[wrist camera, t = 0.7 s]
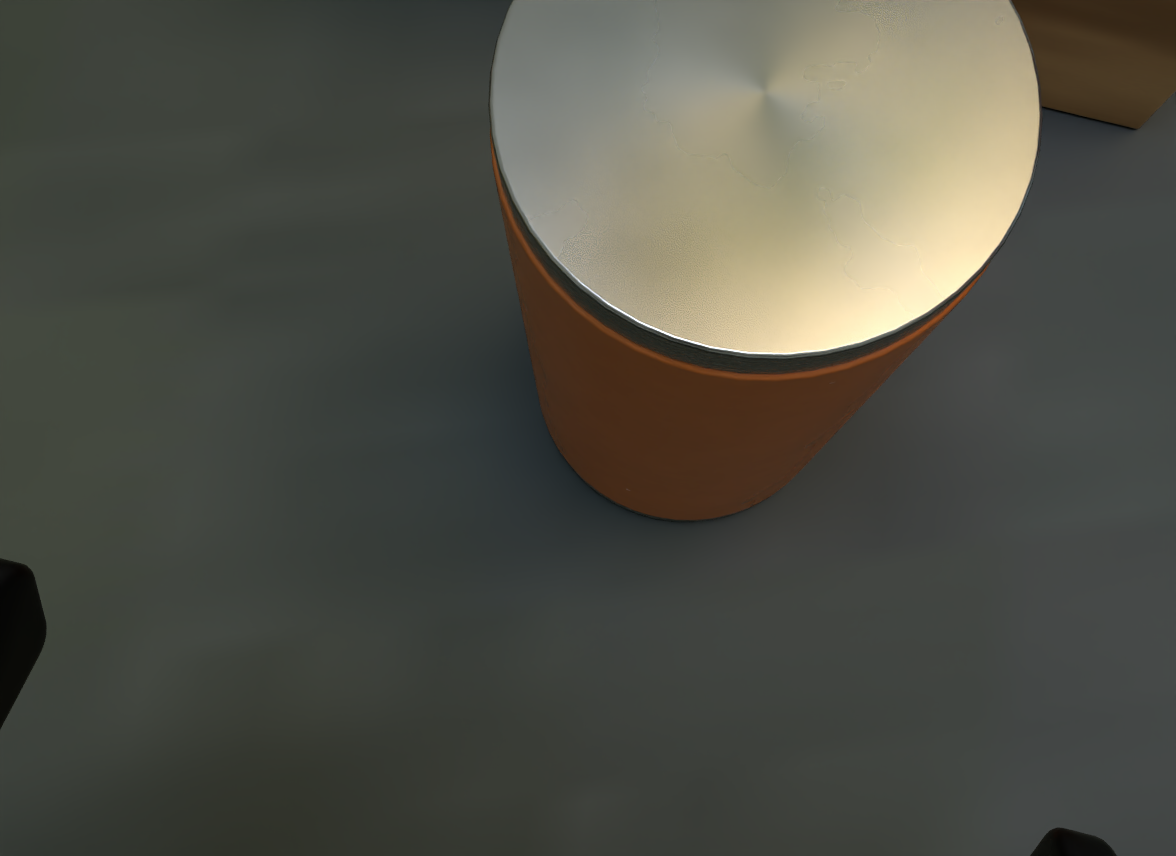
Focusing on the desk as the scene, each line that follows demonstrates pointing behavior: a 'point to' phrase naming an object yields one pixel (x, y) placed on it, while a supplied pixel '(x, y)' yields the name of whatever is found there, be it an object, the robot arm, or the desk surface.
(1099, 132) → the desk surface
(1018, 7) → the wooden bookend
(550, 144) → the tin can
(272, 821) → the desk surface
